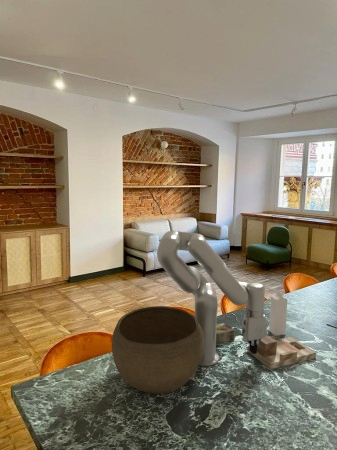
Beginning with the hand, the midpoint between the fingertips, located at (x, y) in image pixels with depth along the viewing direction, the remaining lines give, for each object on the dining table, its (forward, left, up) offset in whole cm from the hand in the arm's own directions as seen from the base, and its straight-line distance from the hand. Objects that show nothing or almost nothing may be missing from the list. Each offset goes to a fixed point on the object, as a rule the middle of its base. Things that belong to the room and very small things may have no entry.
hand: (252, 352), depth 146 cm
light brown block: (+7, 0, -2) cm, 7 cm away
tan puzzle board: (+16, 0, -4) cm, 16 cm away
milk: (+28, +18, -4) cm, 34 cm away
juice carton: (-6, +23, -5) cm, 24 cm away
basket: (-44, +2, -4) cm, 44 cm away
